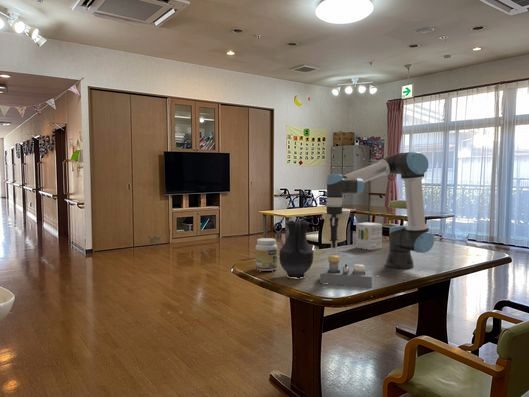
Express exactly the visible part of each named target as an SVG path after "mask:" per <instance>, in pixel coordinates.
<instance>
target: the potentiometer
mask: <svg viewBox="0 0 529 397" xmlns="http://www.w3.org/2000/svg"><path fill="white" fill-rule="evenodd" d="M342 269H343V274H349V270H350V266H348V264H347V263H345V264H344V266H343V267H342Z"/></svg>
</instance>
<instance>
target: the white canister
mask: <svg viewBox="0 0 529 397" xmlns="http://www.w3.org/2000/svg"><path fill="white" fill-rule="evenodd" d="M355 226H356V228H355V248H356V247H357V249H361V248H362V250H366V249H367V250H366V251H373V250H378V249H379V248H380V249H382V246H383V243H382V242H383V240H382V239H383V223H378V222H377V223H376V222H368V221H367V222H359V223H356V224H355Z"/></svg>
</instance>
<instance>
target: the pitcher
mask: <svg viewBox="0 0 529 397" xmlns="http://www.w3.org/2000/svg"><path fill="white" fill-rule="evenodd" d="M285 224H286V226H287V228H288V229H287V230H288V233H287V237H286V240H285V242H284V244H283V245H282V247H281V248H280V249H279V253H278V254H279V255H278V256H279V263H280V266H281V268H282V269H283V271H285V272H286V276H287V275H288V276H289V277H297V278H300V277H304V276H305V277H306V275H305V273H306V272H308V271H309V270H310V268H311V267H312V265H313V262H314V251H313V249H312V247H310V245H309V243H308V239H307V229H308V228H309V225H310V222H308V221H306V220H302V221H300V220H299V221H298V220H295V221H294V220H288V221H286V222H285Z"/></svg>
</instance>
